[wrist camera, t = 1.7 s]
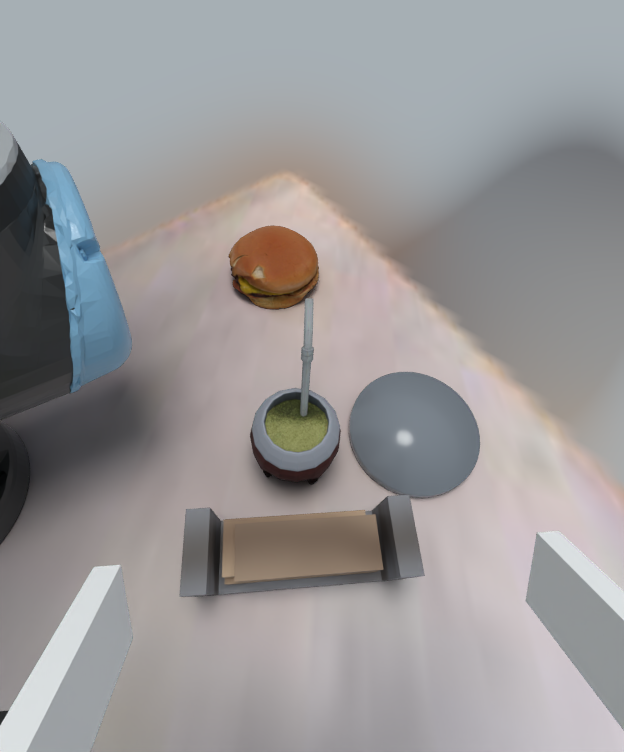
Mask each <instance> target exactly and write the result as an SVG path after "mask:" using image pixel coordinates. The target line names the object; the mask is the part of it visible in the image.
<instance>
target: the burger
mask: <svg viewBox="0 0 624 752" xmlns="http://www.w3.org/2000/svg"><path fill="white" fill-rule="evenodd" d="M229 258H230V265H231V271H232V276H233V277H234V278H235V280H233V286H234V288H235V289H238V291H239V292H241V293H242V294H245V295H246V296H247V297H249V298H250V300H251V301H252V302H253V303H254V304H255V305H257V306H259V307H263V308H267V309H279V308H287V307H290V306H293V305H295V304H297V303H298V302H300V301H301V300H302V299H303V298H304V296H305V295H306V294H307V293H308V292H309V291H310V290H311V289H312V288H313V287H314V286H315V285H316V283H317V281H318V274H319V272H318V269H319V267H318V258H317V254H316V251H315V249H314V247H313V246H312V244H311V243H310V242H309V241H308V240H307V239H306V238H305V237H303V236H302V235H300V234H298V233H297V232H295V231H293V230H290V229H288V228H285V227H281V226H266V227H262V228H259V229H256V230H254V231H252V232H250V233H248V234H247V235H245V236H243V237H242V238H240V239H239V241H238V242H237V243H236V244H235V245H234V246H233V248H232V250H231V251H230V254H229Z"/></svg>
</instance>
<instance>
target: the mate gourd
mask: <svg viewBox="0 0 624 752" xmlns="http://www.w3.org/2000/svg"><path fill="white" fill-rule="evenodd" d="M312 334H313V299H311V298H307V299H305V320H304V346H303V347H302V351H301V353H302V354H301V360H302V361H303V368H302V387H301V389H298V388H292V389H287V390H282V391H279V392H277V393H275V394H274V395H272V396H270V397H269V398H267V399H266V400H265V401H264V402H263V403H262V405H261V406H260V408H259V409H258V410H257V412H256V413H255V417H254V421H253V425H252V429H251V433H250V438H251V443H252V449H253V454H254V456H255V458H256V460H257V462H258V464H259V466H260V468H261V469H262V470H263V472H264V474H265V475H266V476H267V477H268V478H269V477H270V476H272V475H273V476H275V477H277V478H278V479H281V480H287V481H293V482H299V481H304V480H307V481H308V482H309V483H310V484H314V483H315V482H316V481H317V480H318V478H319V477H320V476H321V475H322V474H323V473H324V472H325V470H326V469H327V468H328V467H329V466H330V464H331V462H332V461H333V459H334V457H335V455H336V454H337V452H338V449H339V441H340V432H341V430H340V425H339V421H338V418H337V415H336V412H335V410H334V409H333V408H332V406H331V405H330V404H329V403H328V402H327V400H326V399H325V398H323V397H322V396H320V395H318V394H316V393H314V392H313V391H311V390H309V382H310V369H311V362H312V360H313V353H314V348H313V347H312Z"/></svg>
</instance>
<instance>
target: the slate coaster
mask: <svg viewBox="0 0 624 752" xmlns="http://www.w3.org/2000/svg"><path fill="white" fill-rule="evenodd" d="M349 438H350V443H351V447H352V450H353V452H354V455H355V457H356V459H357V461H358V462H359V464H360V465H361V467H362V468H363V469H364V471H365V472H366V473H367V474H368V475H369V476H370V477H371V478H372V479H373V480H374V481H376V482H377V483H378V484H379V485H381V486H383V487H384V488H386V489H387V490H390V491H392V492H394V493H396V494H399V495H409V496H410V497H412V498H429V497H434V496H438V495H441V494H444V493H446V492H448V491H450V490H451V489H453V488H455V487H456V486H458V485H459V484H460V483H462V482H463V481H464V480H465V479H466V478H467V477H468V476H469V474H470V473H471V472H472V470H473V468H474V467H475V464H476V462H477V459H478V455H479V449H480V435H479V430H478V426H477V423H476V420H475V418H474V416H473V413H472V412H471V410H470V408H469V407H468V405H467V404H466V403H465V401H464V400H463V399H462V398H461V397H460V396H459V395H458V393H456V392H455V391H454V390H453V389H452V388H450V387H449V386H448V385H446V384H445V383H443V382H441V381H439V380H437V379H435V378H433V377H430V376H427V375H424V374H420V373H414V372H397V373H391V374H388V375H385V376H382V377H380V378H378V379H376V380H374V381H373V382H371V383H370V384H369V385H368V386H367V387H365V389H364V390H363V391H362V392H361V393H360V395H359V396H358V398H357V400H356V402H355V404H354V406H353V409H352V412H351V415H350V420H349Z"/></svg>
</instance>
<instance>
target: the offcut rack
mask: <svg viewBox="0 0 624 752" xmlns="http://www.w3.org/2000/svg"><path fill="white" fill-rule="evenodd" d="M419 576H425V575H424V570H423V564H422V559H421V554H420V549H419V543H418V538H417V533H416V527H415V522H414V517H413V512H412V506H411V501H410V496H409V495H398V496H387V497H386V498H385V499H384V500H383V501H382V502H381V503H380V504H379V505H378V506H376V507H375V508H374V509H373V510H372V511H365V510H357V511H343V512H328V513H313V514H298V515H284V516H269V517H254V518H240V519H225V520H224V521H220V519H219V518H218V517H217V516H216V514H215V513H214V512H213V511H212V510H211V508H198V509H186V515H185V529H184V543H183V556H182V570H181V584H180V597H192V596H194V597H198V596H209V595H221V594H233V593H244V592H256V591H268V590H280V589H291V588H303V587H315V586H326V585H338V584H350V583H361V582H373V581H385V580H396V579H405V578H412V577H419Z"/></svg>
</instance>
